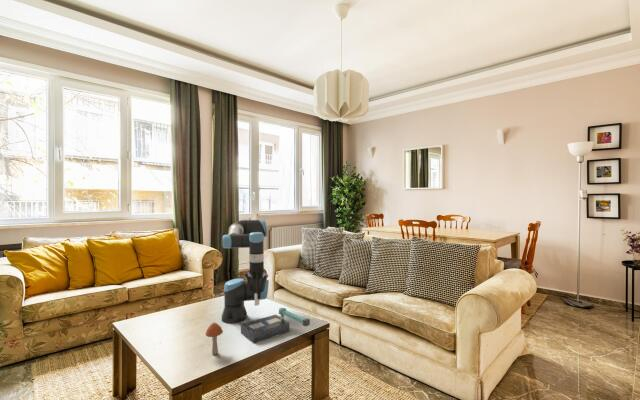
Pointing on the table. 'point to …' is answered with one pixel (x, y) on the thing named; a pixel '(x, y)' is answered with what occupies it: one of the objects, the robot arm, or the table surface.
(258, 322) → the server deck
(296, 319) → the green knobbed rod
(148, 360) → the table surface
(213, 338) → the mushroom
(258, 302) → the robot arm
